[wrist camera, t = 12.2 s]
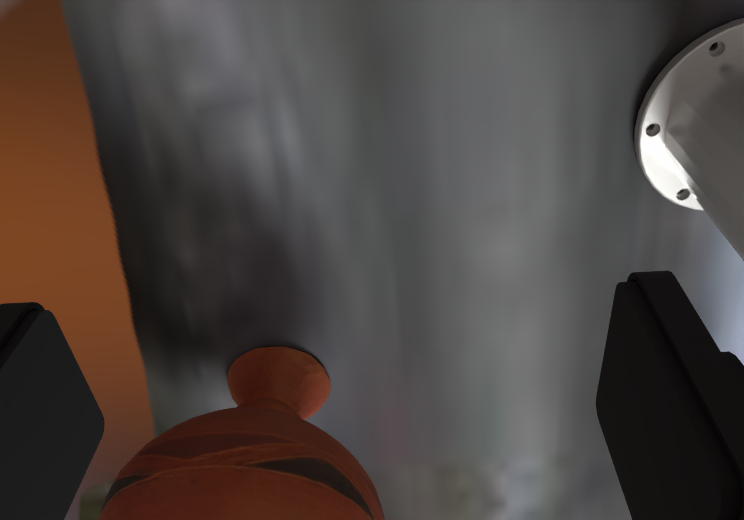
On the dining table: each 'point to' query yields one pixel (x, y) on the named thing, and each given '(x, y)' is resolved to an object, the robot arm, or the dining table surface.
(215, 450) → the goblet
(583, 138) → the dining table surface
